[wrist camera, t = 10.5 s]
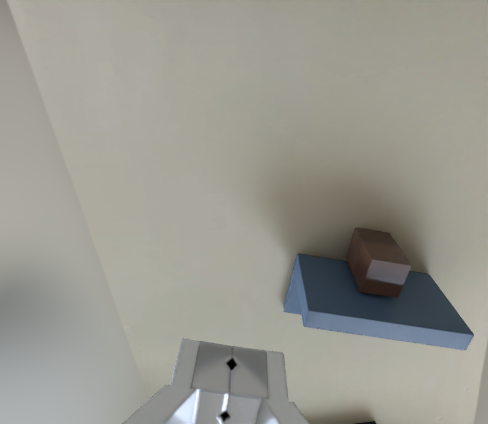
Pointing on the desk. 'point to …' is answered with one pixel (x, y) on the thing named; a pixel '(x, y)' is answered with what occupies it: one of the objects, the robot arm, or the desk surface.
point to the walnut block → (377, 263)
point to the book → (368, 423)
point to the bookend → (373, 306)
